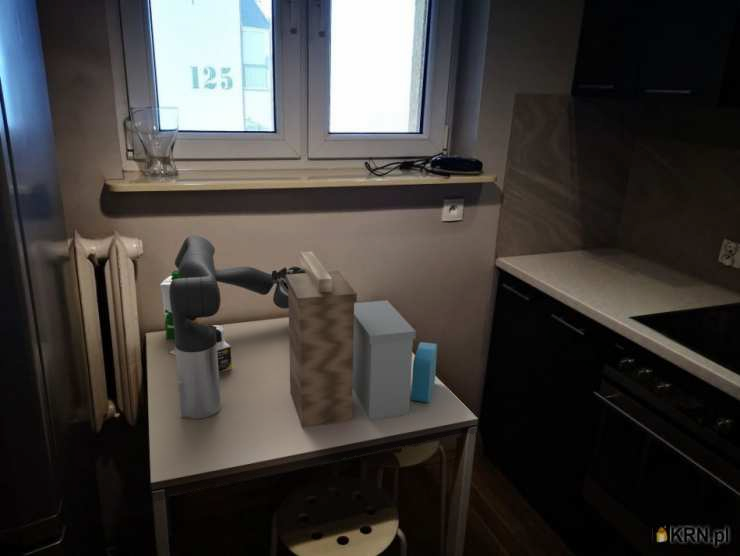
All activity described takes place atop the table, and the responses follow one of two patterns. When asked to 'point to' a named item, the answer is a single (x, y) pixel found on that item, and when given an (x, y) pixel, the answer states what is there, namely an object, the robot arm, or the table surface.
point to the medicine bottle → (222, 349)
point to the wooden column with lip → (321, 349)
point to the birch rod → (316, 272)
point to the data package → (424, 372)
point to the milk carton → (168, 305)
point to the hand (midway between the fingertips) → (301, 269)
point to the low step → (382, 359)
